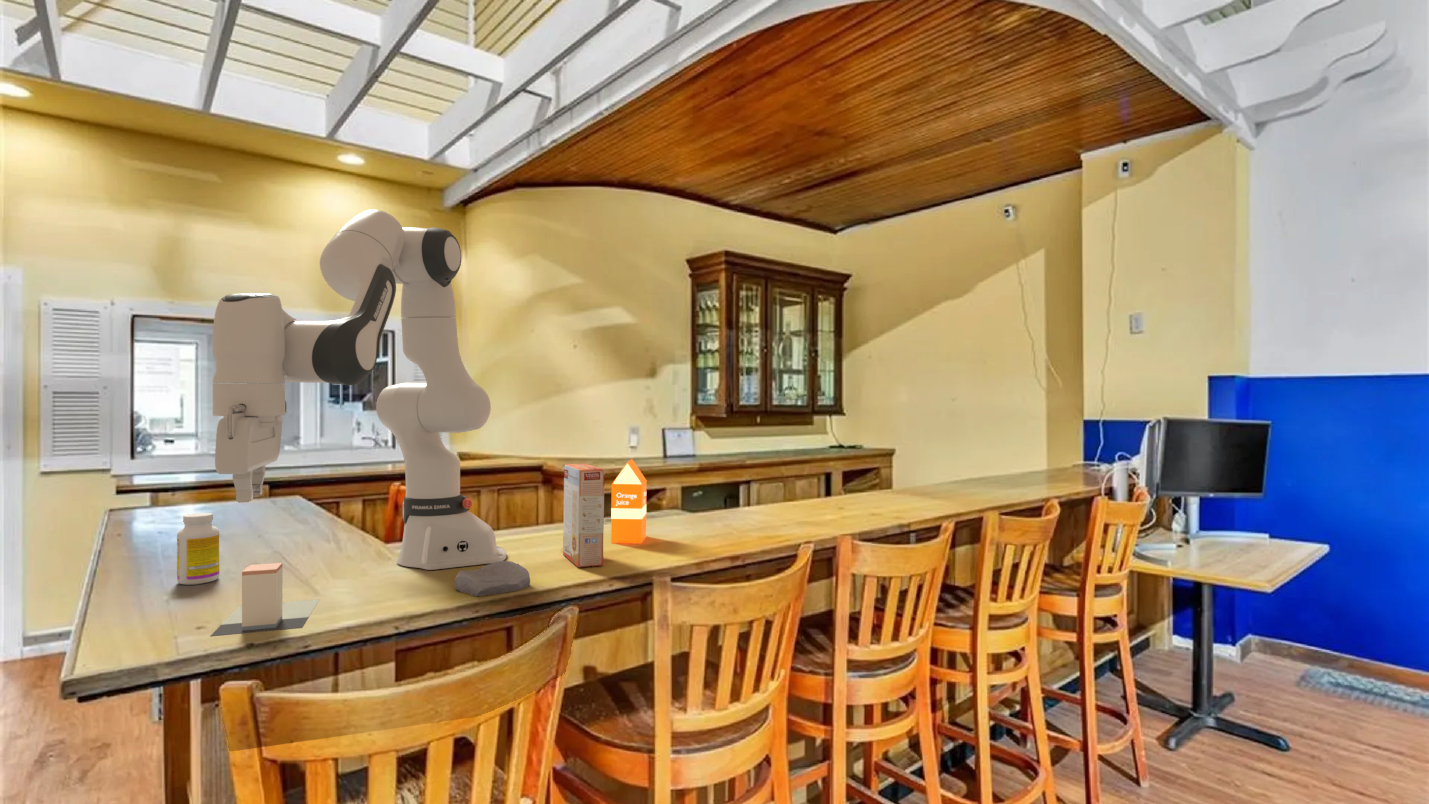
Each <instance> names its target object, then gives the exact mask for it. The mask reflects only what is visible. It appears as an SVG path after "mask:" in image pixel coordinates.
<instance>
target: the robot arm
mask: <svg viewBox="0 0 1429 804" xmlns="http://www.w3.org/2000/svg"><path fill="white" fill-rule="evenodd" d="M461 265H462V250H461V246H460V243H459V240H458V239H457V238H456V237H455V235H454V234H453V233H452V232H451V231H450V230H448V229H445V228H441V227H440V228H439V227H427V228H426V227H417V226H416V227H414V226H413V227H412V226H410V227H409V226H407V227H406V226H403V225H402V224H401V223H400V222H399V221H398V220H397V219H396V217H395V216H393V215H391V214H390V213H388V212H386V211H383V210H379V209H367V210H364V211H362V212H361V213H358V214H357V215H356V216H354V217H353V218H352V219H350V220H349V221H348V222H347V223H345V224H344V225H343V226H342V227H341V228H340V229H339V230H337V232H336V233H335V234H334V236H333V237H332V238H331V239H330V240H329V242H328V243H327V244H326V245H325V247H324V249H323V251H322V252H321V255H320V258H319V268H320V273H321V274H322V277H323V279H324V281H325V282H326V284H327V285H328V286H329V287H330V288H331V289H332V290H333V291H334V292H335V293H336V294H338V295H339V296H341V297H343V298H344V299H348V300H350V301H353V302H354V303H353V305H352V307H351V310H350V312H349V315H347V316H344V317H342V318H339V319H333V320H297V318H294V317H293V316H291V315H290V314H288V312H286V311H285V310H284V308H283V306H282V302H281V299H280V296H278V295H276V294H272V293H269V292H268V293H266V292H257V293H256V292H254V293H253V292H251V293H244V292H243V293H230V294H227V295H225V296H223V297H222V298H220V299H219V300H218V303H217V305H216V309H215V312H214V319H213V327H212V328H213V329H212V355H213V358H214V361H215V372H214V376H213V378H212V416H213V417H222V418H220V419H219V420H218V422H217V428H216V433H215V434H216V435H215V452H214V455H215V457H214V466H215V471H216V473H217V474H218V475H232V482H233V485H234V489H235V500H236V502H237V503H250V502H251V501H253V499H254V498H258V497H260V496H262V494H263V484H264V479H265V474H266V466H267V465H270V464H271V463H274V462H276V461H278V460H279V459H278V458H279V456H280V451H281V444H282V443H281V442H282V430H283V429H282V428H283V416H285V415H286V413H287V409H288V408H287V405H288V404H287V401H286V383H287V382H288V383H311V384H312V383H317V384H318V383H319V384H323V383H324V384H325V383H326V384H333V385H334V384H335V385H344V386H355V385H358V384H359V383H361V382H363V381H364V380H365V379H366V378H367V377H368V376H369V375H370V374H371V373H372V371H373V370H374V368H375V366H376V363H377V359H378V356H379V355H378V354H379V353H378V352H379V346H380V341H381V339H382V335H383V334H384V331H385V327H386V324H387V322H388V319H389V316H390V313H391V310H392V307H393V304H394V301H395V297H396V292H397V285H399V284H400V285H401V284H402V289H401V296H400V297H401V299H400V317H401V318H400V320H401V336H402V338H401V339H402V351H403V354H404V355H405V357H406V358H407V360H409V362H412V363H413V364H415V365H417V366H418V368H419V369H420V370H421V373H422V374H423V376H424V379H425V381H404V382H400V383H395V384H392V385H387V386H386V387H385V388H383V389H382V390H381V392H380V393H379V394H378V397H377V400H376V405H375V408H376V414H377V417H378V419H379V421H380V423H381V424H382V425H384V427H386V428H387V429H388V430H389V431H390V432H391V433H392V434H393V436H394V437H395V440H396V441H397V443H398V445H399V448H400V450H401V453H402V456H403V462H404V471H405V472H404V474H405V496H404V497H403V502H402V520H403V524H404V526H403V535H402V543H401V546H400V552H399V555H398V558H397V561H396V563H397V564H398V565H400V566H403V567H407V568H408V567H409V568H419V569H423V570H426V571H428V570H429V571H430V570H431V571H433V570H440V569H441V570H442V569H443V570H444V569H453V568H459V567H468V566H470V567H471V566H477V565H488V564H492V563H494V562H498V561H505V560H506V559H507V551H506V549H505V548H503V547H501V546H498V545H497V540H496V536H495V535H496V534H495V532H494V530H493V528H492V527H491V525H489V524H488V523H487V522H485V521H483V520H482V519H481V518H479V517H478V516H476V515H475V514H474V513H472V512H471V511H469V510H470V509H471V507H473V501H472V498H471V499H470V498H469V497H467V496H465V495H463V494H462V493H461V463H460V462H461V461H460V459H459V458H458V456H457V454H455V453H454V452H452V451H451V450H449V449H448V448H447V447H446V446H445V445H444V443H443V441H442V438H441V435H440V433H449V434H450V433H454V434H456V433H457V434H459V433H465V432H470V431H475V430H480V429H481V428H482V427H484V425H486V423H487V421H488V419H489V417H490V414H491V409H492V408H491V401H490V398H489V395H488V393H487V392H486V390H485V389H484V388H483V387H482V386H480V385H479V384H478V383H476V381H475V380H474V379H473V378H472V377H471V375H470V374H469V372H468V370H467V369H466V367H465V364H464V362H463V361H462V356H461V355H460V347H459V339H458V328H457V327H458V325H457V311H456V302H455V296H454V290H453V286H452V281H453V279H454V278H455V277H456V276H457V274H458V273H459V270H460V268H461Z"/></svg>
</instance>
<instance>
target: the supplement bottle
mask: <svg viewBox="0 0 1429 804" xmlns="http://www.w3.org/2000/svg"><path fill="white" fill-rule="evenodd" d="M182 517H183V518H182V522H183V524H184V527H183V528H181V529H179V530H178V531H177V534H176V559H177V560H176V580H177V582H178V584H180V585H185V586H189V585H190V586H191V585H192V586H193V585H202V584H206V583H211V582H214V581H216V580H218V579H219V578H220V529H219V528H218V527H217V526H215V525H213V524H212V522H213V521H214V514H213V512H195V513H189V514H184V515H183V516H182Z"/></svg>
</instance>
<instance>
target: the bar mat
mask: <svg viewBox="0 0 1429 804" xmlns="http://www.w3.org/2000/svg"><path fill="white" fill-rule="evenodd" d="M319 601H320V599H308V600H307V599H305V600H294V601H282V620H281V621H280V623H279V624H278V626H277V627H276V628H266V629H256V630H245V631H242V605H239V606H238V607H237V608H235V610H234V611H233V612H232V613H231V614H229V616H228V617H227V618H226V619H225V620H224V621H223V622H222V623H221V624H220V625H219V626H218V628H216V629H215V630H214V631H213V633H211V634H210V637H218V636H229V635H230V636H231V635H240V634H241V635H242V634H250V633H251V634H252V633H261V632H271V631H272V632H273V631H274V632H275V631H284V630H295V629H302V628H303V627H304V626H305V625H306V622H307V621H308V620H309V618H310V616H311V614H312V612H313V611H314V609H315V608H316V606H317V604H318V603H319Z"/></svg>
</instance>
